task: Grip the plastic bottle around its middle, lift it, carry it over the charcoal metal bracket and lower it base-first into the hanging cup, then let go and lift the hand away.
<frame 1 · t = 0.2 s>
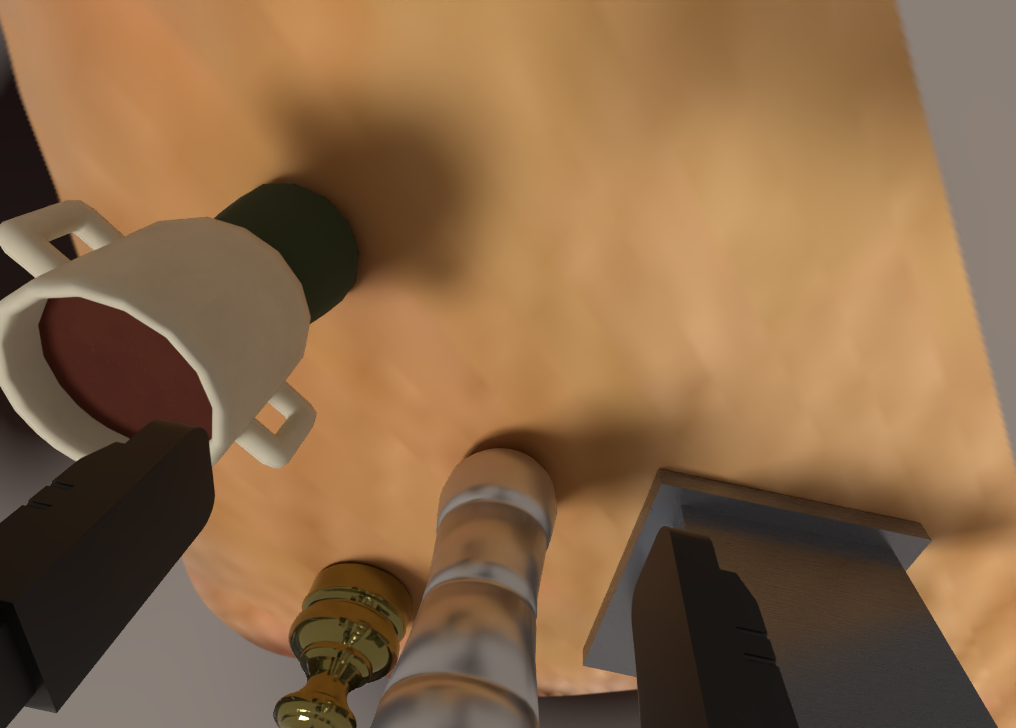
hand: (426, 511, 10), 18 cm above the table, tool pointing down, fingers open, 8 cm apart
cup bracket: (718, 613, 37), on the table
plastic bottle: (503, 474, 34), on the table
brass knob: (364, 591, 41), on the table
character mug: (302, 243, 27), on the table
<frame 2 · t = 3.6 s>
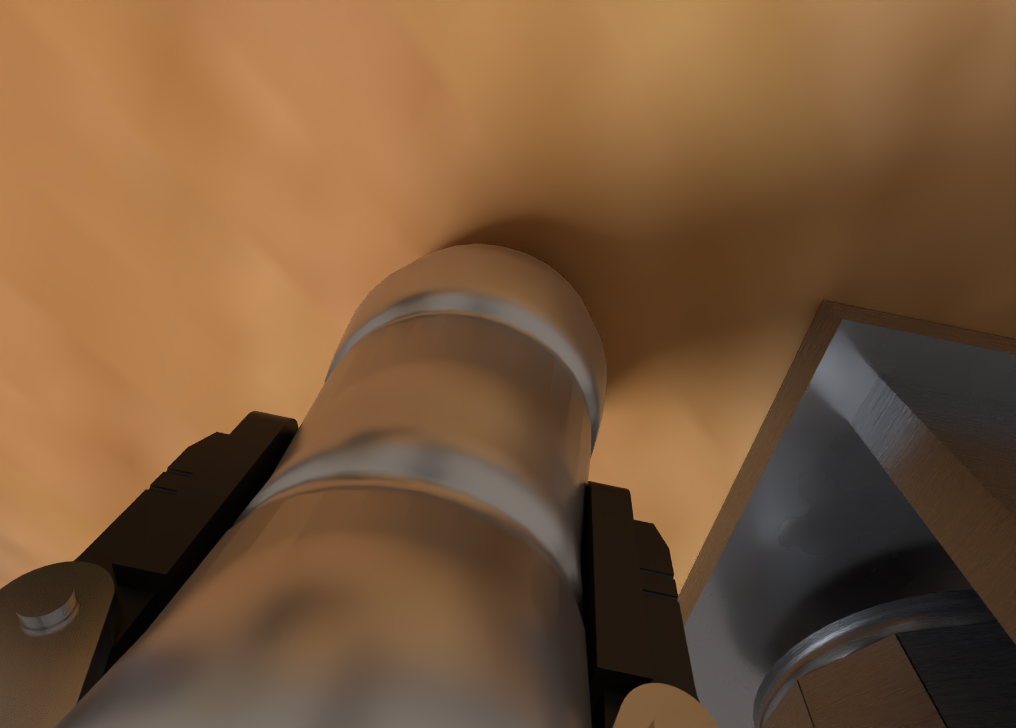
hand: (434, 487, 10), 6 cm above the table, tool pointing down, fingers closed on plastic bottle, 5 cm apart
cup bracket: (893, 626, 20), on the table
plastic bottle: (485, 333, 16), on the table, touching gripper
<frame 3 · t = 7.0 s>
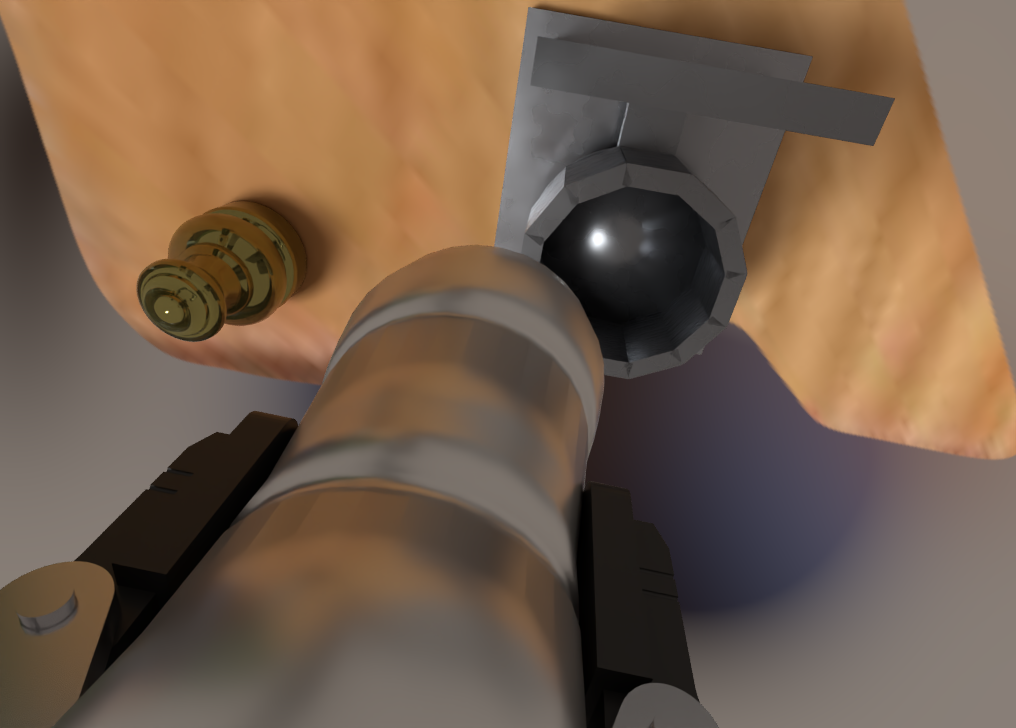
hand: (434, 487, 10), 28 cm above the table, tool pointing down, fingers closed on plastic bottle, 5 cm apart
cup bracket: (616, 230, 36), on the table
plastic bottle: (483, 334, 16), point 21 cm above the table, touching gripper
brass knob: (259, 251, 39), on the table
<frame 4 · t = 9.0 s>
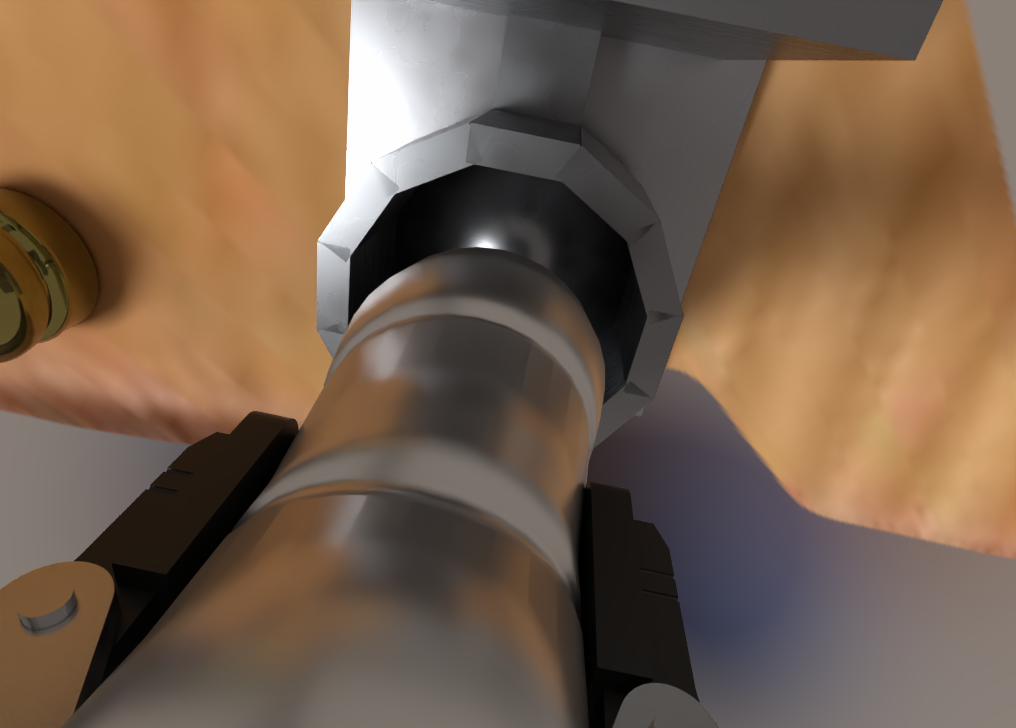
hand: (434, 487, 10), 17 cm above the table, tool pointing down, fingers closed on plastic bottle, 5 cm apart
cup bracket: (518, 240, 25), on the table
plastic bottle: (484, 335, 16), point 10 cm above the table, touching gripper
brass knob: (34, 259, 28), on the table
when the fingers open (12 cm above the table, at t = 10.5 s): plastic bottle drops 1 cm, resting on cup bracket.
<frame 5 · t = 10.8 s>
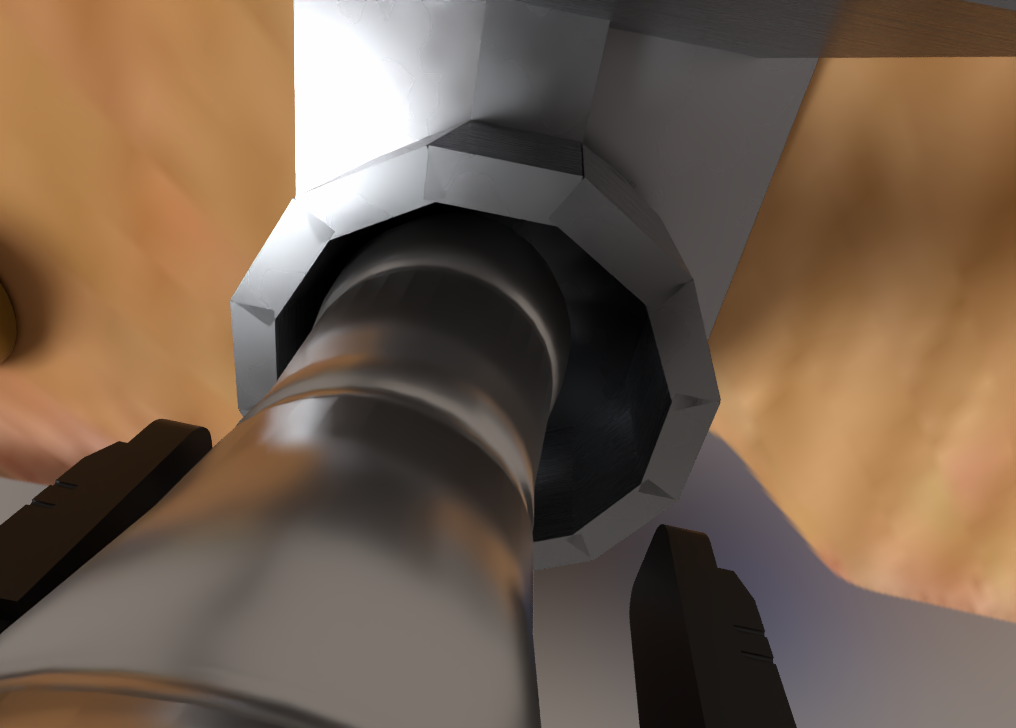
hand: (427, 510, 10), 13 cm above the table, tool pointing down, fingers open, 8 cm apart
cup bracket: (507, 275, 21), on the table
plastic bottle: (462, 301, 17), point 4 cm above the table, touching cup bracket, gripper
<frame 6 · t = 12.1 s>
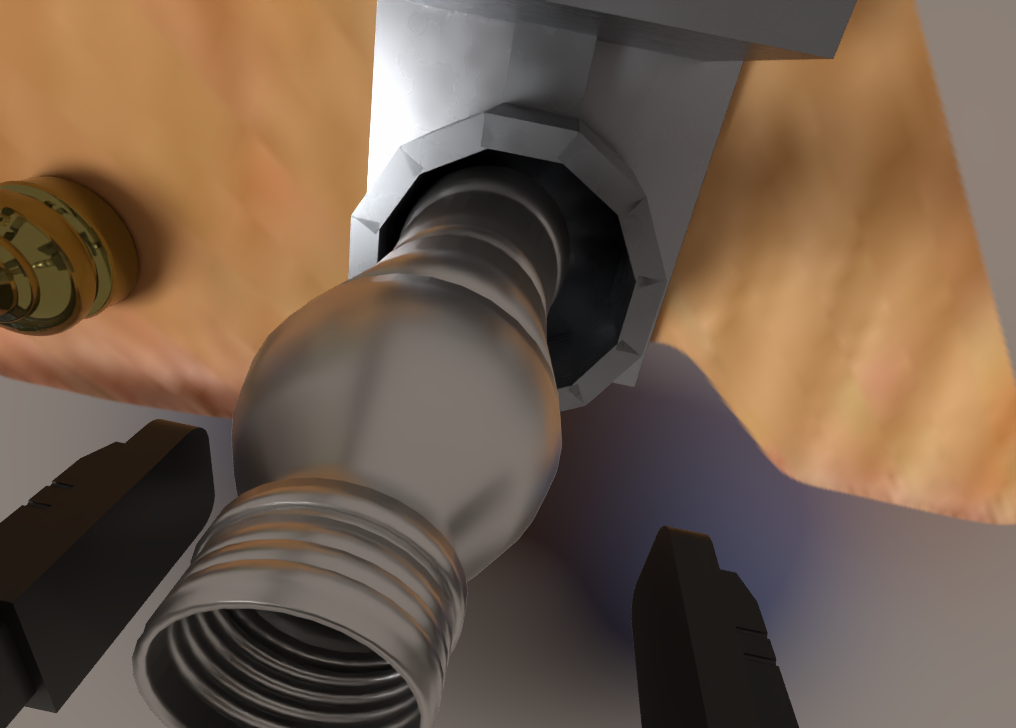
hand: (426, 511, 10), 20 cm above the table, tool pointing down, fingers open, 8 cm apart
cup bracket: (522, 224, 28), on the table
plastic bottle: (493, 235, 24), point 4 cm above the table, touching cup bracket
brass knob: (79, 242, 31), on the table
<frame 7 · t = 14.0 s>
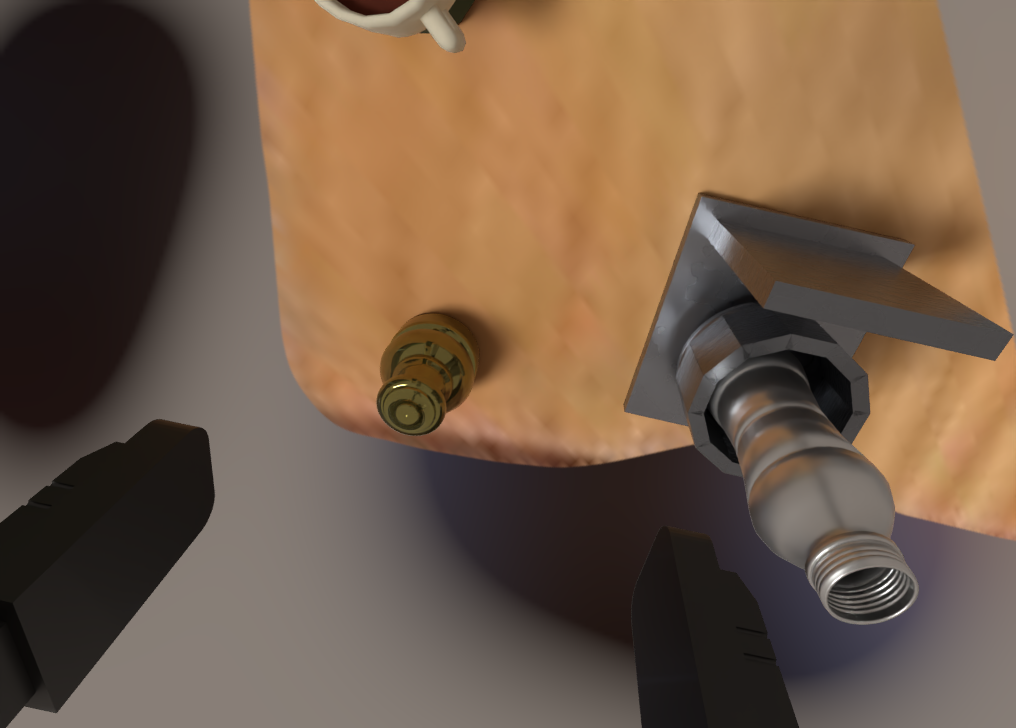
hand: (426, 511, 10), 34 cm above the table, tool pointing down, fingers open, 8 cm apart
cup bracket: (741, 352, 45), on the table
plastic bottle: (742, 368, 41), point 4 cm above the table, touching cup bracket
brass knob: (438, 350, 48), on the table
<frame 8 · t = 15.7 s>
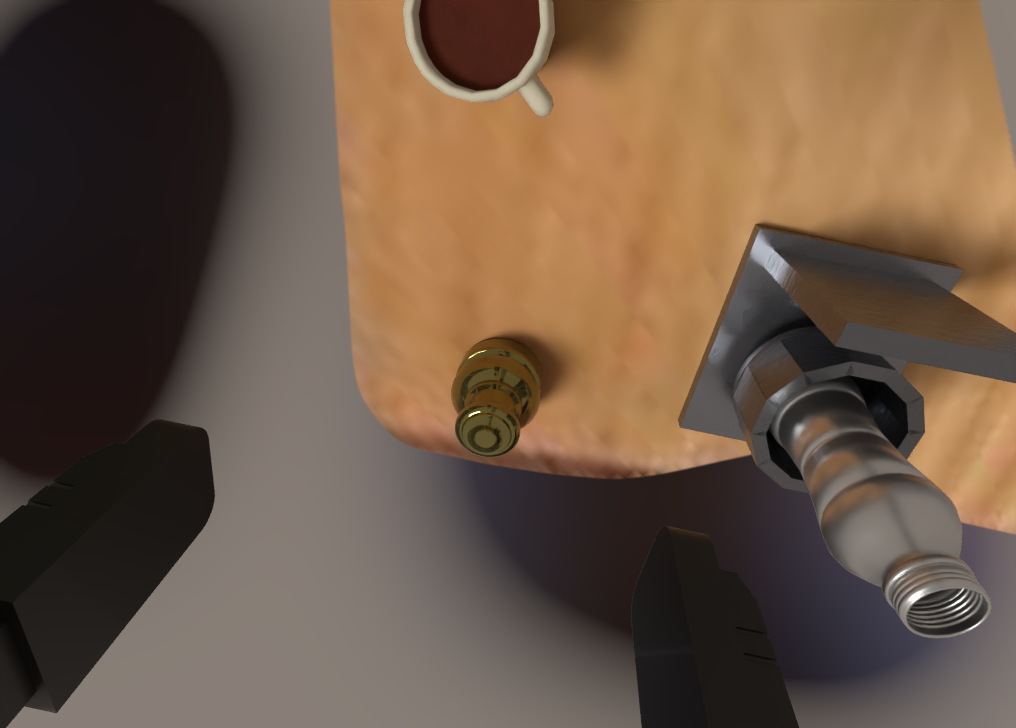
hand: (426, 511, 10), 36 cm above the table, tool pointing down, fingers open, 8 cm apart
cup bracket: (792, 370, 47), on the table
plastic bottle: (797, 388, 44), point 4 cm above the table, touching cup bracket
brass knob: (501, 372, 50), on the table
character mug: (506, 32, 38), on the table
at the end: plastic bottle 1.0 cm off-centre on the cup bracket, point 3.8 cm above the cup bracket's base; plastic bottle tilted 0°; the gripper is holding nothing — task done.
